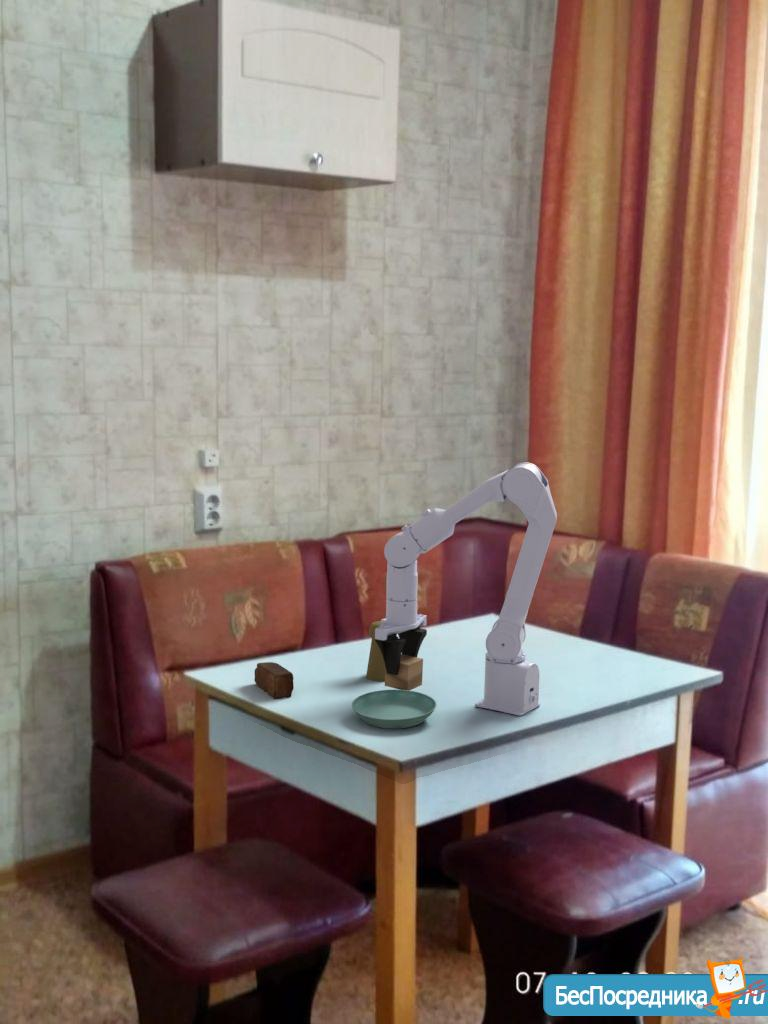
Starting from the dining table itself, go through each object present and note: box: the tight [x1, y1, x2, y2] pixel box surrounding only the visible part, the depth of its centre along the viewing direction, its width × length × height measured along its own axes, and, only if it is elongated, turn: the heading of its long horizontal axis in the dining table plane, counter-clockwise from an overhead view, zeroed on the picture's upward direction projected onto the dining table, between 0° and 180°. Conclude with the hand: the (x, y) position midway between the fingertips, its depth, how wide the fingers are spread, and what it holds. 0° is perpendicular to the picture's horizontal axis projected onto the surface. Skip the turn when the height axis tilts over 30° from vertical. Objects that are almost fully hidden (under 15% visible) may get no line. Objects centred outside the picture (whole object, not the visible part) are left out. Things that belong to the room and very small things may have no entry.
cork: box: [365, 620, 385, 682], centre depth 231 cm, size 6×6×11 cm
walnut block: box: [384, 653, 424, 691], centre depth 218 cm, size 5×5×5 cm
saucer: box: [351, 689, 437, 730], centre depth 206 cm, size 15×15×3 cm
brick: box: [254, 661, 295, 699], centre depth 221 cm, size 11×4×5 cm, turn 26°
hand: (400, 670), depth 218 cm, fingers closed on walnut block, 5 cm apart
